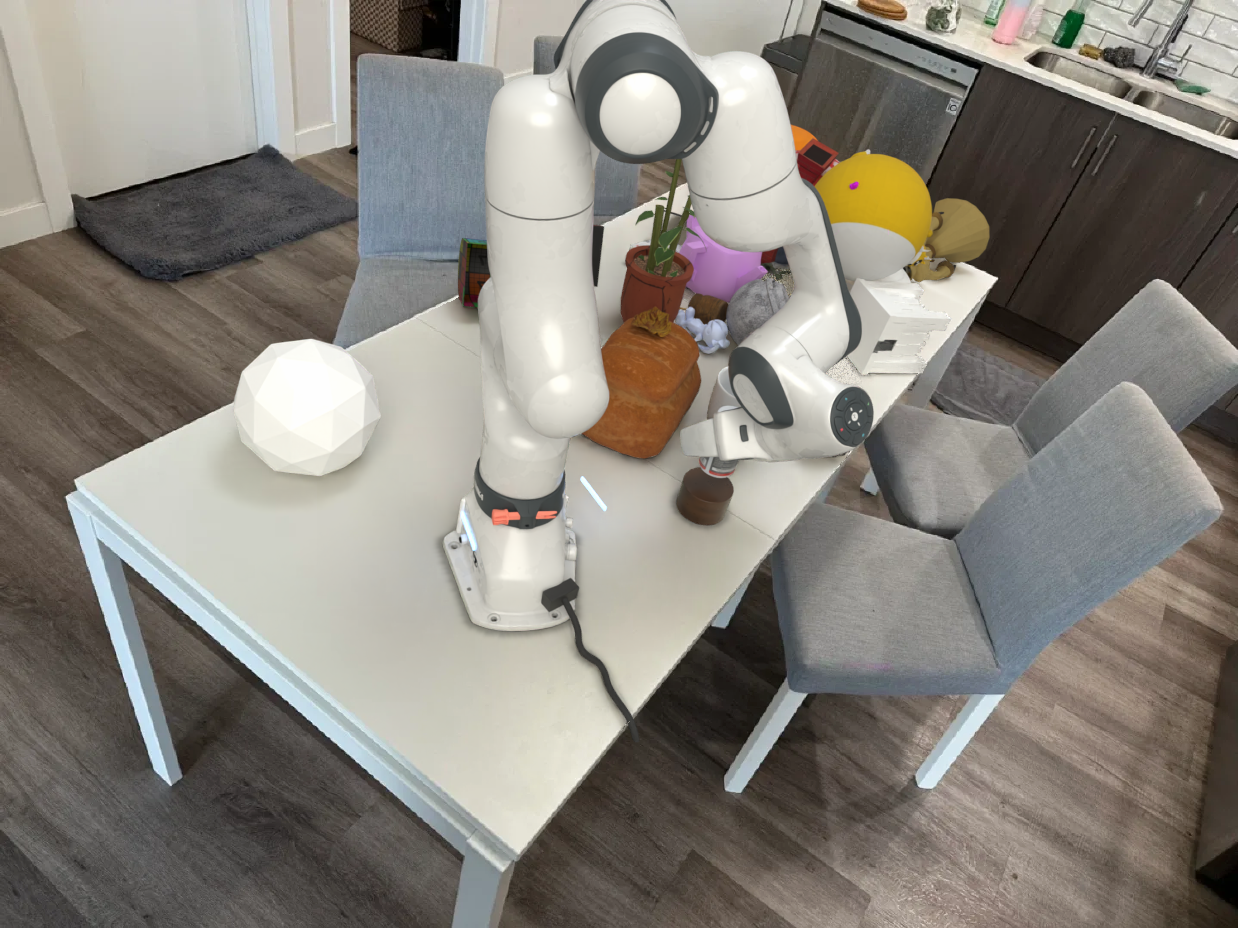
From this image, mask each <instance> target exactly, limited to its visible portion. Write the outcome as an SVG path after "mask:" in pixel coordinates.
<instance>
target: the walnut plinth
mask: <svg viewBox="0 0 1238 928" xmlns="http://www.w3.org/2000/svg"><path fill="white" fill-rule="evenodd" d="M734 492H735V488H734V484H733V482H732V481H731V479H730V478H729V477H726V478H716V477H713V476H710V475H708V474H707V473H705V472H704V471H703V470H702V469H701V467H700V466H698V467H697V466H696V467H693V468H690V469H689V470H687V472H685V473H684V475H683V479H682V482H681V485H680V488H679V491H678V494H677V497H676V501H675V506H676V509H677V511H678V512H679V514H680V515H681V516H682V517H683V518H684V519H685V520H687V521H689V522H691V523H692V524H695V525H698V526H699V525H700V526H707V527H709V526H714V525H717V524H720V522H721V523H722V521H723V520H724V518H725V516H726V514H727V511H728V508H729V506H730V503H731V501H732V498H733V496H734Z"/></svg>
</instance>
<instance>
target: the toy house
mask: <svg viewBox="0 0 1238 928" xmlns="http://www.w3.org/2000/svg"><path fill="white" fill-rule="evenodd" d="M817 140H818V139H817ZM817 140H815V139H813V138H812V139H811V140H810V141H809V142H808V143H807V144H806V145H805V146H804V147H803V148H802V149H801V150H796V159H797V165H798V170H799V174H800V177H801V178H803V179H805V180H807V181H809V182H810V183H811V184H812V185H813V186H815V185H816V184H817V182H818V181H819V180H820V179H821V178H822V177H823V175H824V174H825V173H826V172H827V171H829V170H830V169H831V168H833V167H834V166H835V165H837V164H839V163H840V162H841V161H839V160H838V159H836V158H837V156H838V155H839V154H840V153H839V152H838V151H836V150H835V149H833V148H831V147H829V146H827V145H826V144H824V143H822V142H820V141H819V140H818V141H817ZM771 262H775V263H777V264H780V265H783V266H786V265H788V261H787V257H786V254H785V251H784V248H783V246H782V247H779V248H777V249H774V250H770V251H765V252H762V256H761V264H763V263H771Z"/></svg>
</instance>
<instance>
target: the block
mask: <svg viewBox="0 0 1238 928" xmlns="http://www.w3.org/2000/svg"><path fill="white" fill-rule="evenodd" d="M604 232H605V225H600V224H599V225H598V224H593V242H592V272H593V282H594V288H598V286H599V278H600V269H601V260H602V250H603V242H604ZM457 263H458V264H457V295H458V300H459V301H460V303H461V305H462V307H463V308H471V309H478V297H479V294H480V291H481V289H482V287H483V285H484V284H485V283H486V281H487V280H488V279H489V278H490V277H491V275H490V271H489V266H488V254H487V239H480V238H479V239H478V238H468V237H462V238H461V240H460V243H459V252H458V262H457Z"/></svg>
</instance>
